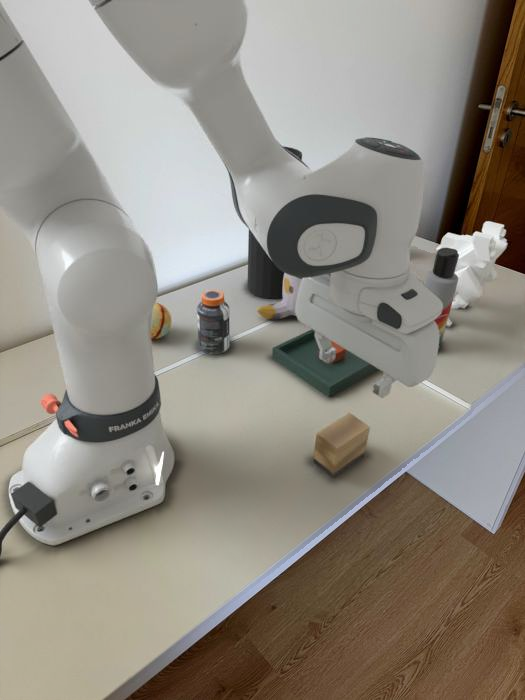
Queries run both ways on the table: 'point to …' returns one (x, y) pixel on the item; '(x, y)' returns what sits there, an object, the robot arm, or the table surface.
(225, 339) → the pill bottle
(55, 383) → the table surface
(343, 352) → the orange red square block
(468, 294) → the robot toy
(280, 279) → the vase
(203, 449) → the table surface
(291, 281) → the figurine
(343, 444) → the tan brown block
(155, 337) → the ball
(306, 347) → the tray
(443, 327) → the spray bottle
